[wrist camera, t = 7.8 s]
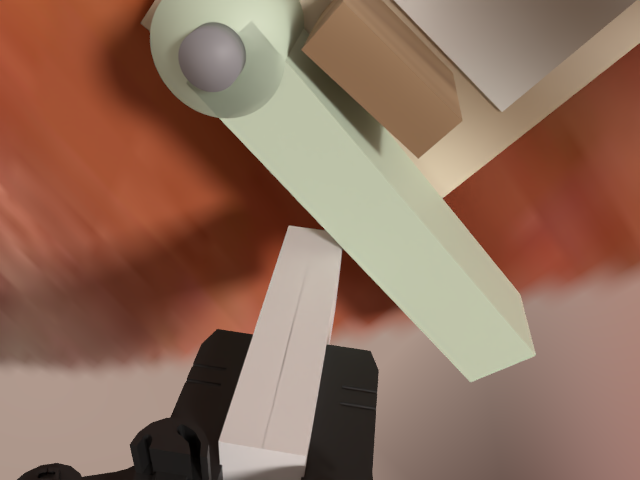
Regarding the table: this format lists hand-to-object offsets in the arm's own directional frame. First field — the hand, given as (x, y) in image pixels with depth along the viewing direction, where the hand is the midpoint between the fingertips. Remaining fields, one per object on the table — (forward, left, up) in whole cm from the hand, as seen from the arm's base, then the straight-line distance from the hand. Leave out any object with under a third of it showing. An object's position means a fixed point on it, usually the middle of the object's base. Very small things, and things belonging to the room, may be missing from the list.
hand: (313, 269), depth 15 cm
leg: (-3, -1, -2) cm, 3 cm away
